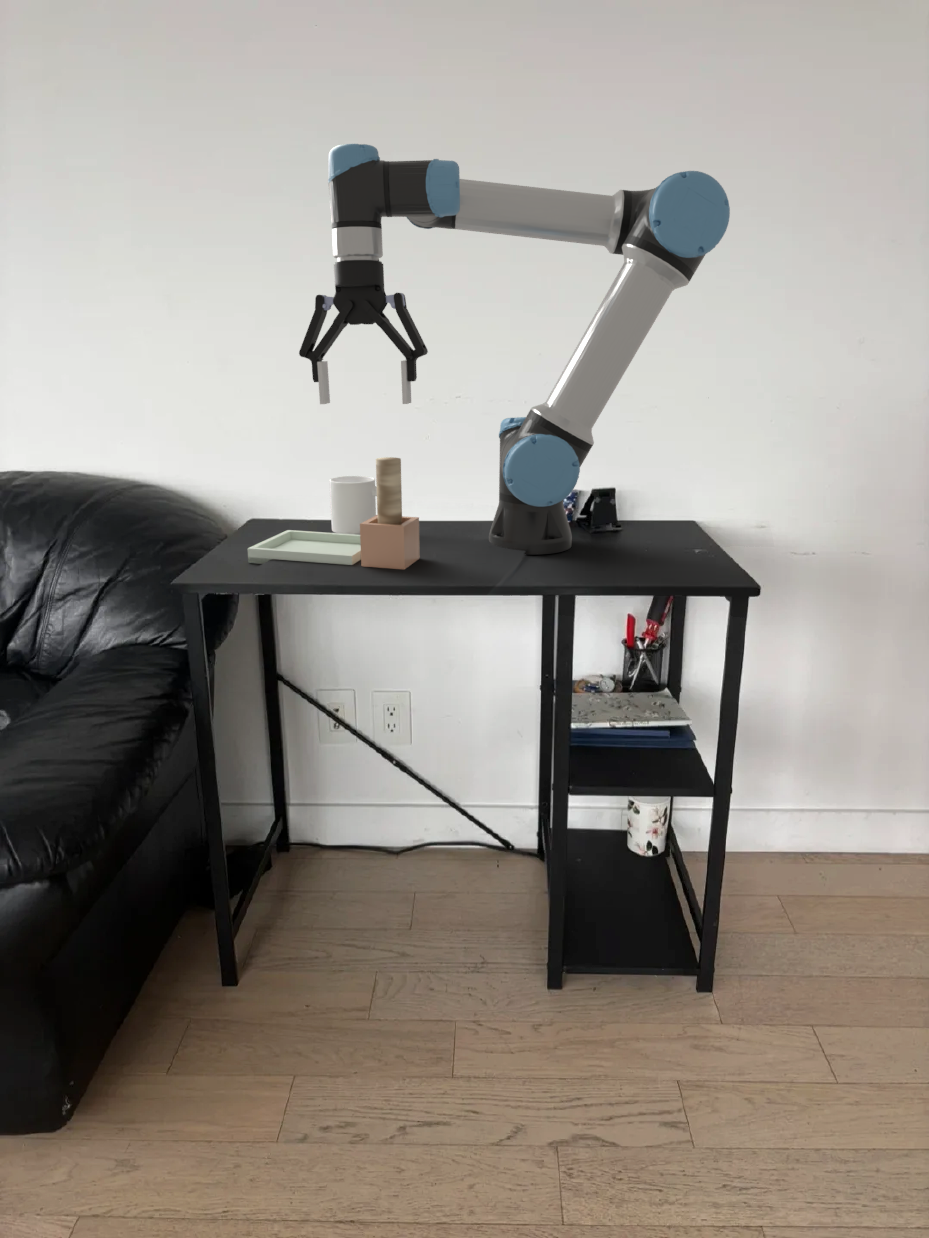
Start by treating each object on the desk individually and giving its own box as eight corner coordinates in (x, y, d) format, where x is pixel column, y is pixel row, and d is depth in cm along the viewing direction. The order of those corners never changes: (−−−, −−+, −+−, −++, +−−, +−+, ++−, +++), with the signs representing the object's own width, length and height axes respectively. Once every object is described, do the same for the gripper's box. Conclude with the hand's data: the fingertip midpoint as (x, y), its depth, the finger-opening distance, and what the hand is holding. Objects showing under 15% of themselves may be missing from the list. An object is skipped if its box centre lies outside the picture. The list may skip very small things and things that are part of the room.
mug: (385, 541, 164) (384, 484, 161) (325, 538, 167) (322, 482, 164) (398, 531, 172) (397, 477, 169) (341, 528, 175) (338, 474, 171)
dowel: (406, 560, 147) (404, 457, 142) (398, 565, 143) (395, 461, 138) (383, 558, 148) (381, 457, 143) (375, 564, 144) (372, 460, 139)
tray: (384, 549, 158) (384, 536, 157) (352, 570, 144) (351, 556, 143) (288, 543, 163) (287, 530, 162) (248, 562, 149) (247, 548, 148)
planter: (419, 563, 148) (418, 517, 146) (404, 575, 141) (403, 526, 139) (378, 560, 150) (376, 514, 148) (361, 571, 143) (359, 523, 141)
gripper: (443, 259, 135) (446, 401, 141) (289, 264, 139) (300, 401, 146) (433, 255, 128) (436, 405, 134) (271, 261, 132) (283, 405, 139)
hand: (365, 403), depth 140 cm, fingers open, 13 cm apart
